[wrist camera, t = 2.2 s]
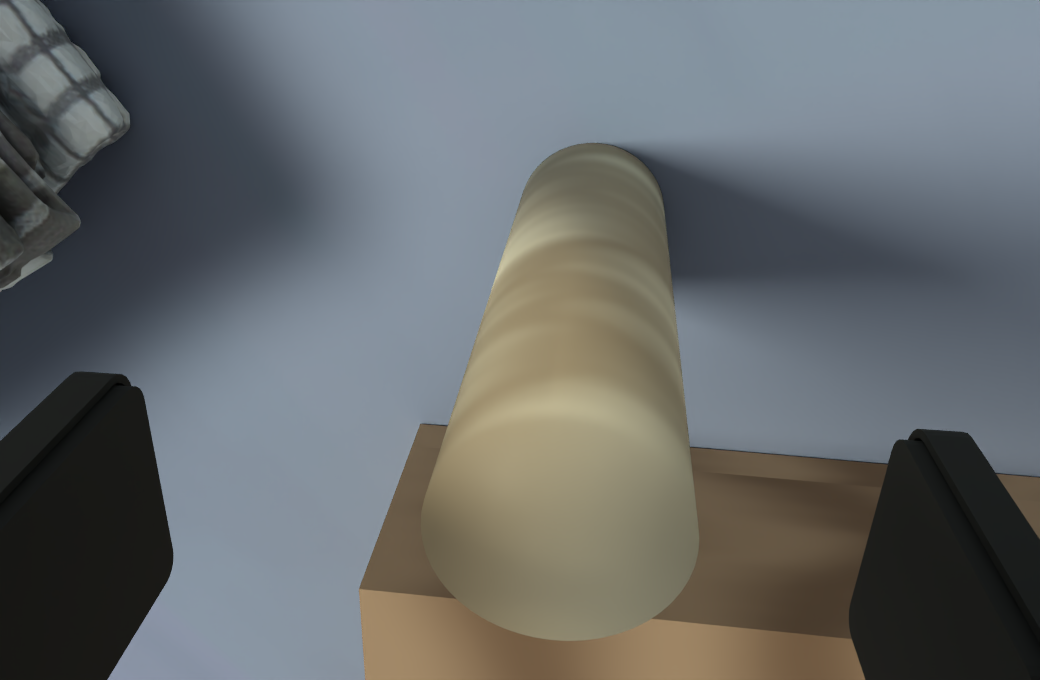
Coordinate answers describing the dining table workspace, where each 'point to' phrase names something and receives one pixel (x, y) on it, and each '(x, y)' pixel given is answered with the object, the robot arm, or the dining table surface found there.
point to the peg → (571, 417)
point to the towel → (44, 133)
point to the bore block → (695, 611)
